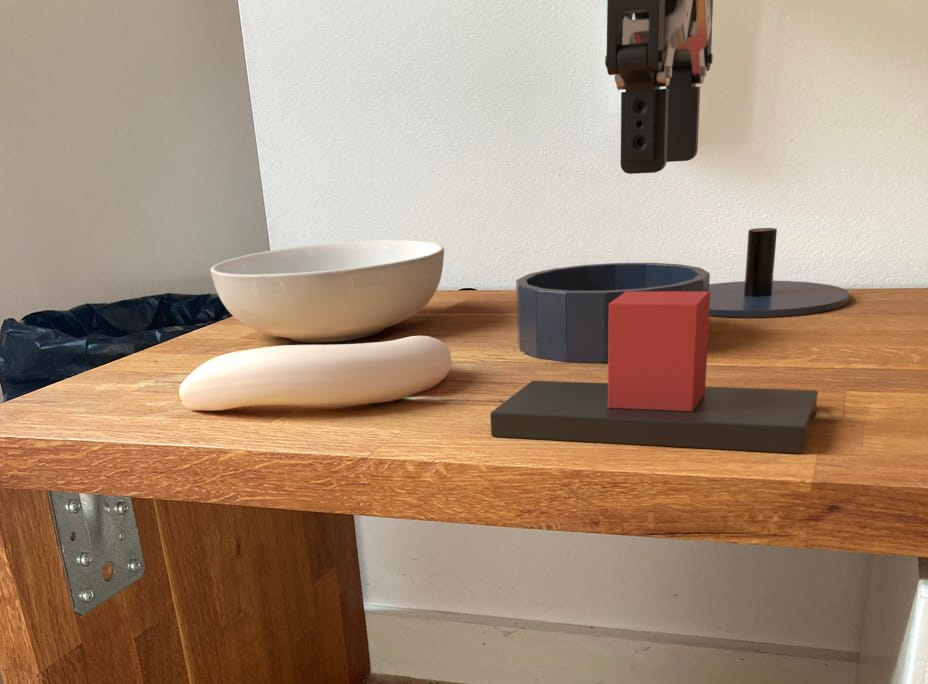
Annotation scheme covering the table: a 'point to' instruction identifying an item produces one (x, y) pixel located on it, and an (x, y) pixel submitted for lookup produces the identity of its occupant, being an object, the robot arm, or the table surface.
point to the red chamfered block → (658, 350)
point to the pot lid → (770, 287)
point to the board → (660, 418)
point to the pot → (588, 305)
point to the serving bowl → (330, 288)
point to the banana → (318, 374)
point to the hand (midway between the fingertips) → (661, 166)
